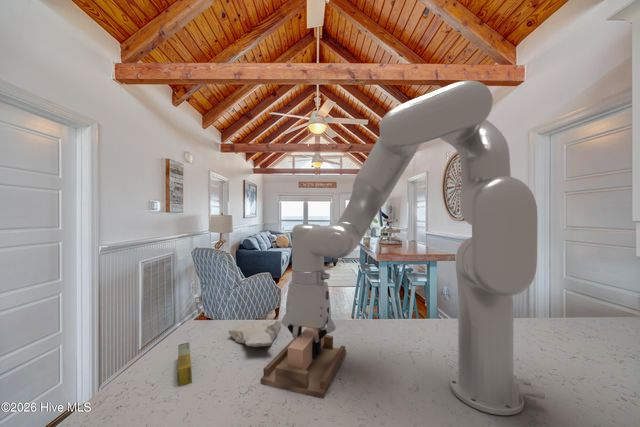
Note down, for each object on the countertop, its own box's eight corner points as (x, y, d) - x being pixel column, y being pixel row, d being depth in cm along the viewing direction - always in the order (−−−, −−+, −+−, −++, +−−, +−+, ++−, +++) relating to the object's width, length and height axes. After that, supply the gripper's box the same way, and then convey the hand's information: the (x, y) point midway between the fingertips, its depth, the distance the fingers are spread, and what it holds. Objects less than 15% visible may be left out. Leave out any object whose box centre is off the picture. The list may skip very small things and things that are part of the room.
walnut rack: (346, 353, 71) (346, 338, 71) (323, 398, 54) (323, 377, 54) (296, 344, 76) (296, 330, 76) (260, 383, 58) (260, 364, 58)
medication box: (178, 360, 68) (177, 344, 68) (190, 357, 69) (189, 341, 69) (178, 387, 57) (177, 368, 57) (192, 384, 58) (191, 365, 58)
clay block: (324, 344, 71) (324, 324, 71) (302, 374, 57) (302, 350, 57) (311, 342, 72) (311, 323, 72) (287, 370, 59) (287, 347, 59)
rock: (211, 360, 68) (270, 356, 67) (210, 340, 69) (269, 337, 68) (242, 330, 90) (287, 327, 89) (241, 316, 90) (286, 312, 89)
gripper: (346, 276, 65) (345, 353, 65) (283, 271, 71) (283, 342, 71) (337, 283, 58) (337, 370, 58) (268, 277, 64) (268, 356, 64)
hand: (307, 354), depth 65 cm, fingers closed on clay block, 3 cm apart
